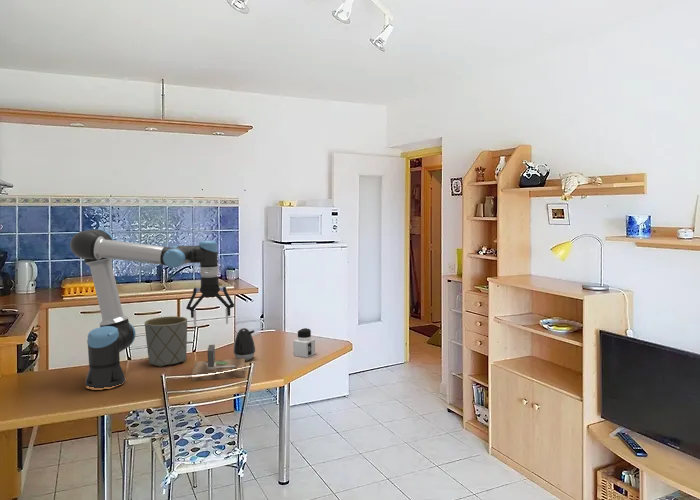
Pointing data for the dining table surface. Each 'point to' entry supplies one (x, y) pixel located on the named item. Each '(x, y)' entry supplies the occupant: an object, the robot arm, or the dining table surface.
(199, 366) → the tuner board
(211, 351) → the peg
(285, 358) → the dining table surface
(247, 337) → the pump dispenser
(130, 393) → the dining table surface
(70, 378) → the dining table surface
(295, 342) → the container
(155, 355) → the planter
